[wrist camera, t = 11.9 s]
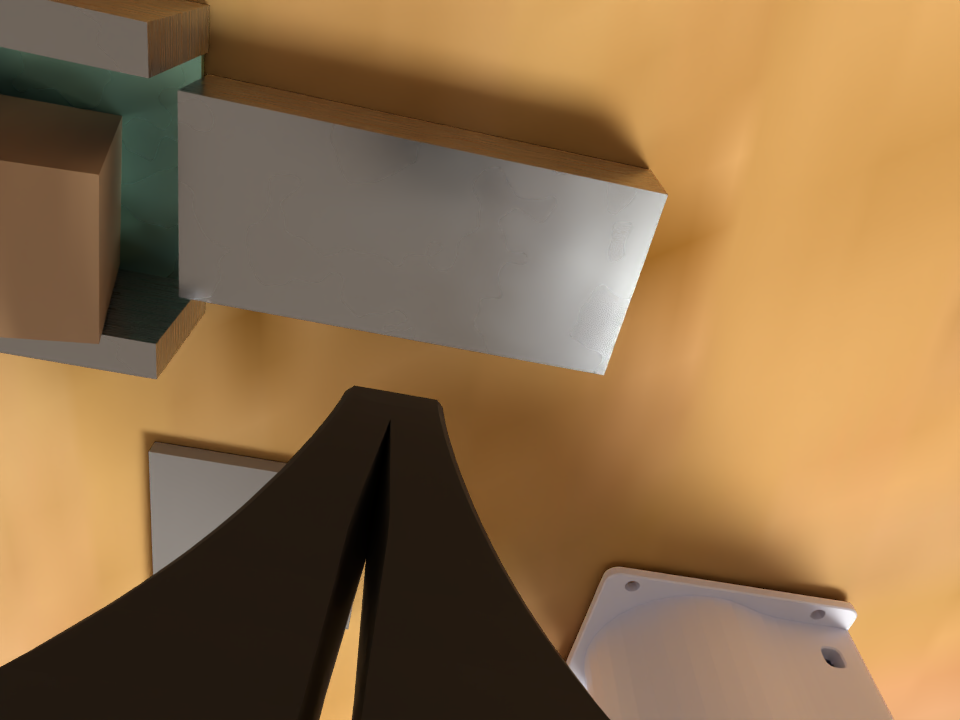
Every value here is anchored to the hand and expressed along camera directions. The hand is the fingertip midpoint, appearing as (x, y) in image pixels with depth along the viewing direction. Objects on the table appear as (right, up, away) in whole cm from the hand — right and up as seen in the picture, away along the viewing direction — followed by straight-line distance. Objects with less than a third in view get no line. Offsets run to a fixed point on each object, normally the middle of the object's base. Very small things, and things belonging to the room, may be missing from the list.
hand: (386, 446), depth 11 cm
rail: (-4, +6, +8) cm, 10 cm away
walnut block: (-7, +4, +6) cm, 10 cm away
